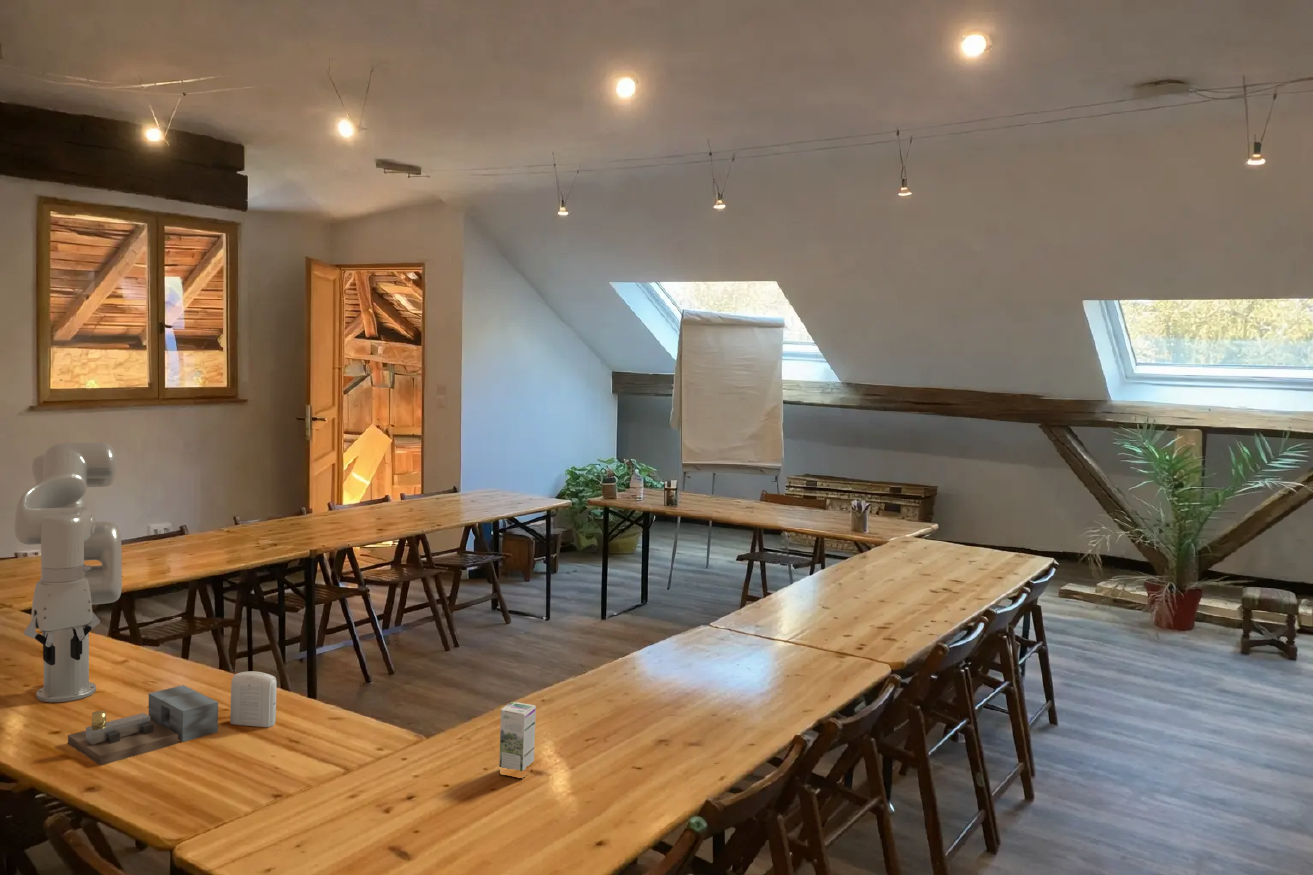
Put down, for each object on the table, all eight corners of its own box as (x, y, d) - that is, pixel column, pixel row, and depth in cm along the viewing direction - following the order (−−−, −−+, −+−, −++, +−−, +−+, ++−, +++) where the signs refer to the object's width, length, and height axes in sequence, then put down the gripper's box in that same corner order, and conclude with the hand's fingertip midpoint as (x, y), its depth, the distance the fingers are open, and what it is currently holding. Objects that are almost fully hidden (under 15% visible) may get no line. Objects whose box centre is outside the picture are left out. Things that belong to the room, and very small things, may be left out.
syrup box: (534, 769, 207) (537, 704, 206) (522, 780, 201) (524, 713, 200) (510, 765, 209) (513, 699, 208) (497, 775, 203) (500, 708, 202)
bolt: (92, 744, 204) (92, 717, 203) (85, 740, 206) (85, 713, 205) (150, 729, 213) (150, 702, 213) (143, 725, 215) (143, 699, 215)
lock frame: (100, 765, 199) (100, 732, 199) (67, 743, 209) (67, 712, 208) (217, 731, 219) (218, 701, 219) (183, 713, 229) (183, 684, 228)
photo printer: (278, 721, 227) (279, 670, 226) (270, 728, 222) (271, 676, 221) (236, 718, 227) (237, 667, 226) (227, 725, 223) (227, 673, 222)
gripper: (98, 565, 207) (98, 648, 208) (9, 577, 193) (9, 666, 195) (114, 571, 202) (113, 656, 204) (23, 583, 189) (24, 674, 190)
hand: (62, 660), depth 199 cm, fingers open, 4 cm apart
